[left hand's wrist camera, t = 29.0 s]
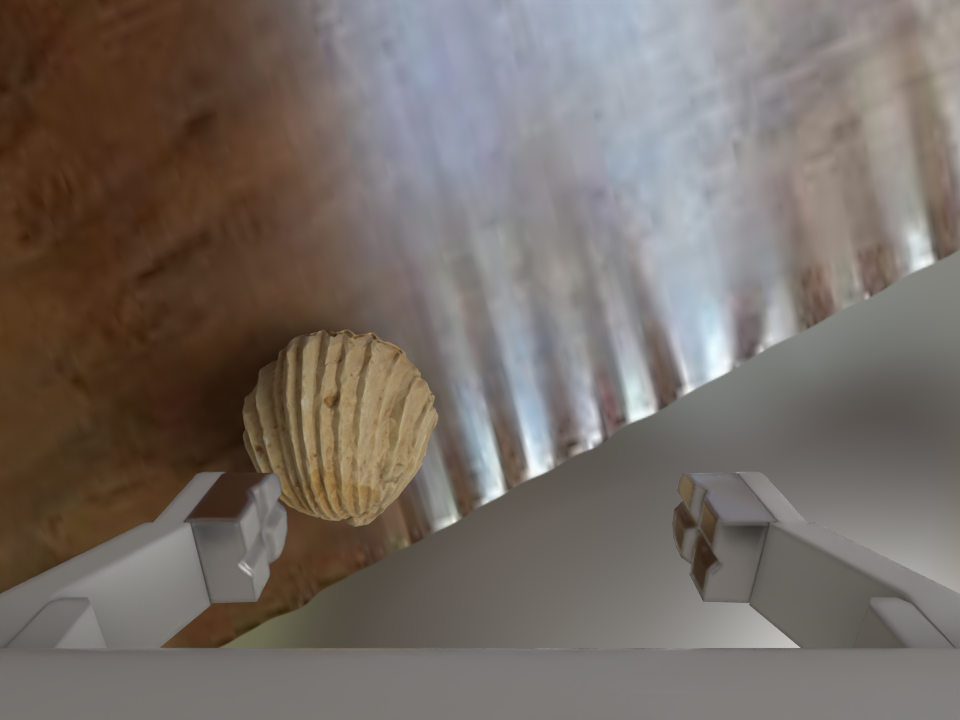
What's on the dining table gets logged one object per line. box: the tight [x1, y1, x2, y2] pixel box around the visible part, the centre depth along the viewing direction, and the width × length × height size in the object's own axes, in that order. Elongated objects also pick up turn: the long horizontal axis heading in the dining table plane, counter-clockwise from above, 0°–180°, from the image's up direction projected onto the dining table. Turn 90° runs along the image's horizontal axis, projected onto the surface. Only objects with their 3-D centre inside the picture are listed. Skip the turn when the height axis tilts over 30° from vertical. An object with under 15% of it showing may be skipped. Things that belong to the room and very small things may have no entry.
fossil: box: [242, 329, 438, 527], centre depth 42 cm, size 15×17×15 cm
